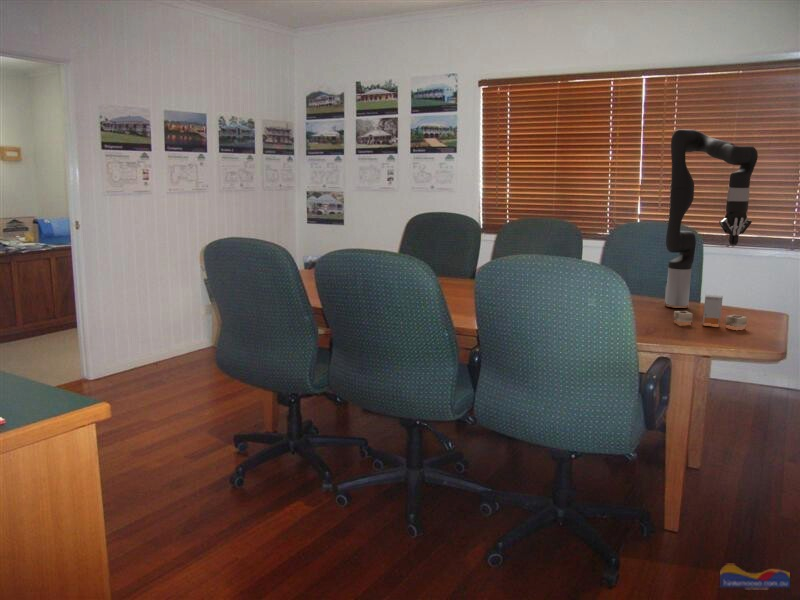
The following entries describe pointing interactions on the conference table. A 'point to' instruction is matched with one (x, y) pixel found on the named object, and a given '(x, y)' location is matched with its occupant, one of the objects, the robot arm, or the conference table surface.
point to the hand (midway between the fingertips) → (733, 244)
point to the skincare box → (712, 309)
